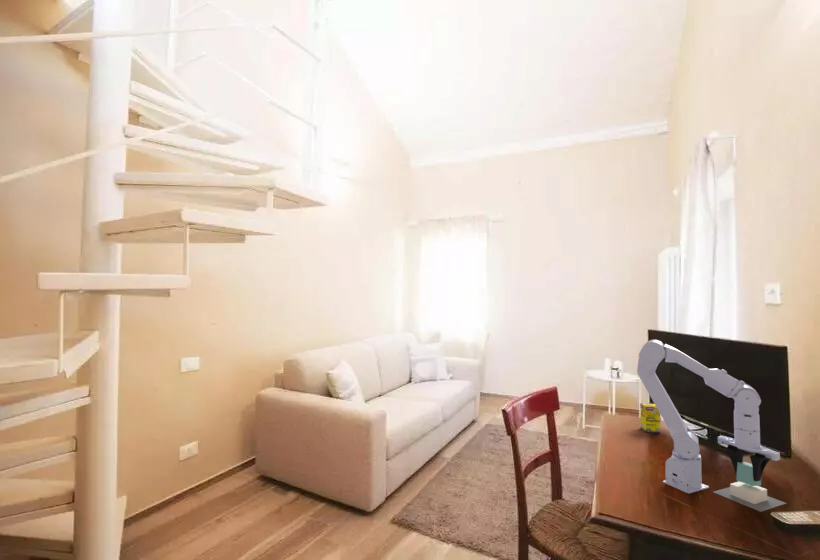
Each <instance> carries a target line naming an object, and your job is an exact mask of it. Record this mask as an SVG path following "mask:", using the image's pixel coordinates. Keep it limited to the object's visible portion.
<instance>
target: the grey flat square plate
mask: <svg viewBox="0 0 820 560" xmlns="http://www.w3.org/2000/svg"><path fill="white" fill-rule="evenodd" d="M713 493H714V494H717V495H719V496H721V497H724V498H726V499H728V500H731V501H733V502H735V503H738V504H741V505H743V506H746V507H748V508H749V509H753V510H756V511H757V512H760V513H761V512H765V511H768V510H771V509H773V508H776V507H780V506H784V505H787V502H786V501H785V502H784V501H782V500H779V499H776V498H774V497H771V496H769V495H767V500H766V501H763V502H760V503H757V504H753V503H750V502H748V501H745V500H743V499H740V498H738V497H735V496H733V495H730V486H728V487H725V488H721V489H718V490H714V491H713Z"/></svg>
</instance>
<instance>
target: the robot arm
mask: <svg viewBox="0 0 820 560" xmlns="http://www.w3.org/2000/svg"><path fill="white" fill-rule="evenodd" d="M664 359H665V360H664ZM663 360H664V362H665V363H674V364H675V363H676V364H678V365H679V366H682V367H683V368H685V369H687V370H689V371H691V372H692V373H694V374H696V375H698V376H700V377H701V378H703V380H704V384H705V385H706V386H708V387H710V388H712V389H713V390H715V391H716V392H718V393H720V394H722V395H723V396H725V397H727V398H732V399H733V401H734V409H733V435H734V436H733V437H734V438H732V437H727V436H723V435H721V436H717V444H719V445H725V446H727V447H725V448H724V450H725V451H724V452H726V454H727V456H728V457H729V459H730V462H731V464H732V466H733V469H734V473H735V475H737V462H744V461H743V460H744V453H745V452H748V453H750V454H751V455H749V458H750V461H751V464H752V467H753V479H754V481H760V480H761V481H762V476H763V473H764V470H765V468H766V467H767V464H768V463H769V462H770V461H771V460H772V461H774V462H777V461H780V460H781V453H780V452H779V451H776V450H773V449H770V448H768V447H766V446H763V445H761V425H760V424H761V423H760V421H761V420H760V414H759V412H760V405H761V403H762V399H761V396H760V395H759V392H757V390H756V389H755V388H753V387H752V386H751V385H750V384H748V383H746V382H745V381H743V380H741V379H740V380H739V379H737V378H735V377H733V376H731V375H730V374H728V372H727V370H725V369H723V368H722V369H719V368H709V367H707V366H705V365H704V364H702V363H701V362H699V361H698V360H696V359H694V358H692V357H691V356H689V355H687V354H686V353H684V352H682V351H680V350H679V349H677V348H675V347H673V346H672V345H669V344H667V343H665V344H664V343H663V342H662V341H661V340H659V339H650V340H647V342H645V343H644V344H643V345H642V348H641V349H640V351H639V353H638V361H637V367H636V368H637V370H636V373H637V375H638V378H639V379H640V380H641V383H642V384H643V386H644V388H645V389H646V391H647V393H648V394H649V396H650V399H651V400H652V402H653V404H655V405H656V407H657V409H658V411H659V412H660V417H661V418H662V420H663V421H664V423H665V425H666V426H667V429H668V432H669V435H670V436H671V438H672V440H673V441H672V442H673V449H672V454H671V457H669V458H667V459H666V461H665V465H664V466H665V467H664V468H665V480H662V483H663V484H666V485H668V486H671V487H673V488H675V489H678V490H680V491H682V492H684V493H687V494H692V493H696V492H700V491H703V490H707V489H709V488H710V487H709V485H706V484H705V483H702V482H703V479H702V456H701V453H700V445H699V437H698V434H696V433H695V432H694V431H692V429H690V428H689V426H688V424H687V423H686V422H685V421H684V420H683V418H682V417H681V414H680V413H679V410H678V409H677V408H676V406H675V405H674V403H673V401H672V399H671V397H670V395H669V394H668V393H667V390H666V388H665V387H664V386H663V384H662V382H661V380H660V379H659V376H658V375H657V372H656V370H657V368H658V366H659V364H660V363H661V362H662V361H663Z"/></svg>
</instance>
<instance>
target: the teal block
mask: <svg viewBox="0 0 820 560" xmlns="http://www.w3.org/2000/svg"><path fill="white" fill-rule="evenodd" d="M739 481H740V482H743V483H745V484H748V485H751V486H759V487H762V479H761V480H760V481H754V479H753V467H752V462H751V463H750V462H747V461H743V462H737V474H736V482H739Z"/></svg>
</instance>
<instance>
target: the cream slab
mask: <svg viewBox="0 0 820 560" xmlns="http://www.w3.org/2000/svg"><path fill="white" fill-rule="evenodd" d="M729 487H730V495H733V496H735V497H738V498H740V499H743V500H745V501H748V502H750V503H753V504H757V503H760V502H763V501H766V500H767V496H768V489H767V488H765V487H762V486H751V485H748V484H745V483H743V482H740V481H735V482H731V483H729Z"/></svg>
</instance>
